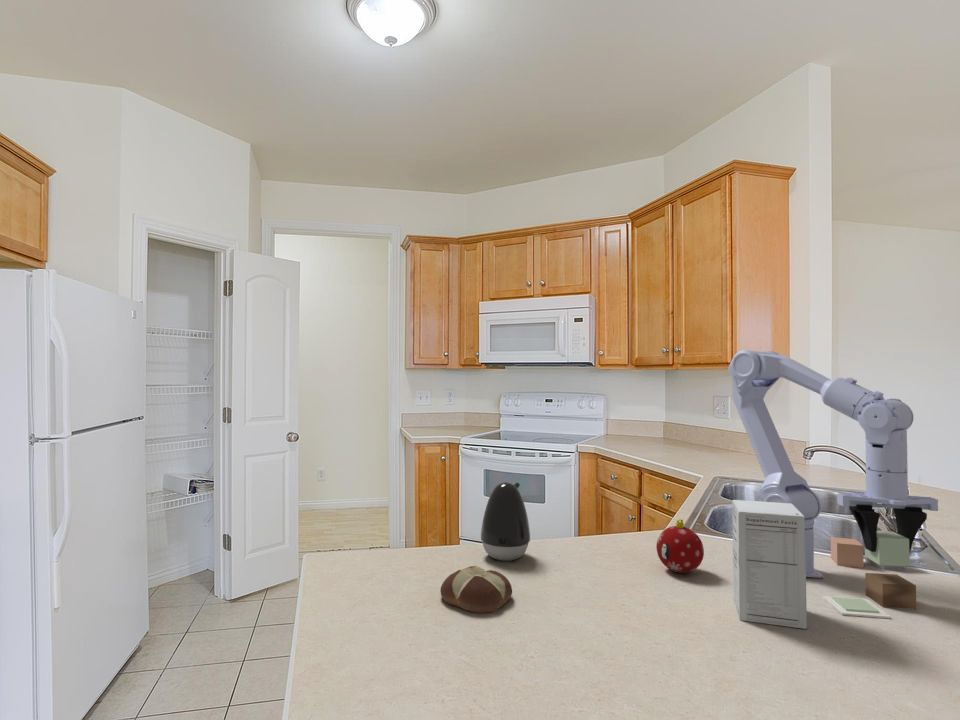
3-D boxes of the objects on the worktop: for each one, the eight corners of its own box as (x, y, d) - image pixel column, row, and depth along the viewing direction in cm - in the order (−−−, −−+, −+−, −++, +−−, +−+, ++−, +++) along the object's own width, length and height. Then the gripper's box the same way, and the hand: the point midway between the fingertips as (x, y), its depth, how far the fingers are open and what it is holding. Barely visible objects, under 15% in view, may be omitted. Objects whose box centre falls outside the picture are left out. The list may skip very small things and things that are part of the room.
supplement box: (795, 606, 89) (794, 502, 90) (809, 630, 80) (808, 516, 81) (731, 598, 92) (731, 498, 93) (737, 620, 84) (737, 510, 84)
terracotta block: (837, 565, 110) (837, 543, 110) (830, 558, 114) (830, 537, 114) (863, 568, 108) (863, 545, 108) (856, 561, 112) (855, 539, 113)
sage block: (879, 564, 90) (878, 537, 91) (865, 556, 95) (864, 530, 95) (909, 566, 90) (909, 538, 90) (893, 557, 94) (893, 531, 94)
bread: (480, 621, 83) (480, 587, 83) (429, 599, 90) (430, 569, 91) (525, 600, 91) (525, 569, 91) (475, 582, 99) (475, 554, 99)
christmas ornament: (714, 575, 103) (713, 522, 103) (680, 582, 99) (680, 527, 99) (679, 561, 110) (679, 512, 111) (646, 567, 107) (647, 516, 107)
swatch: (841, 615, 86) (841, 611, 86) (821, 597, 93) (821, 593, 93) (890, 618, 85) (890, 614, 85) (866, 600, 92) (866, 597, 92)
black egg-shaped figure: (538, 554, 114) (539, 481, 114) (515, 568, 105) (515, 489, 105) (497, 545, 119) (497, 476, 120) (470, 558, 110) (471, 483, 111)
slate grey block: (883, 569, 107) (883, 546, 108) (865, 562, 112) (865, 540, 112) (904, 569, 108) (904, 546, 108) (885, 561, 112) (885, 539, 113)
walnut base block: (882, 608, 89) (882, 583, 90) (865, 596, 94) (865, 572, 94) (916, 610, 89) (915, 585, 89) (897, 598, 94) (896, 574, 94)
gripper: (851, 472, 90) (852, 555, 89) (950, 476, 87) (951, 561, 87) (831, 465, 97) (831, 542, 96) (922, 469, 94) (923, 548, 94)
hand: (887, 551), depth 92 cm, fingers closed on sage block, 4 cm apart
